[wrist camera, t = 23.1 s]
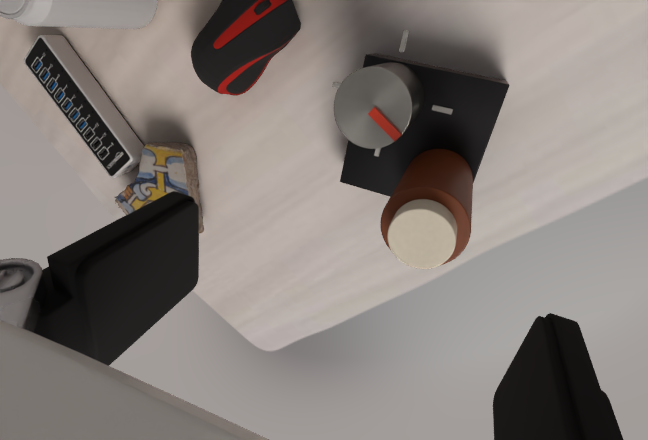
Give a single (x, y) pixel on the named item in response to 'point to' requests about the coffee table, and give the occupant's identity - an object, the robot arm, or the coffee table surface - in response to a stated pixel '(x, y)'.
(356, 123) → the knob
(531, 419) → the robot arm
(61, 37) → the multiport hub
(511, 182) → the coffee table surface
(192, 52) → the computer mouse
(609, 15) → the coffee table surface
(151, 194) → the ceramic tile fragment
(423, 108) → the dark grey dial base
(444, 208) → the spice bottle
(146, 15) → the beverage can
